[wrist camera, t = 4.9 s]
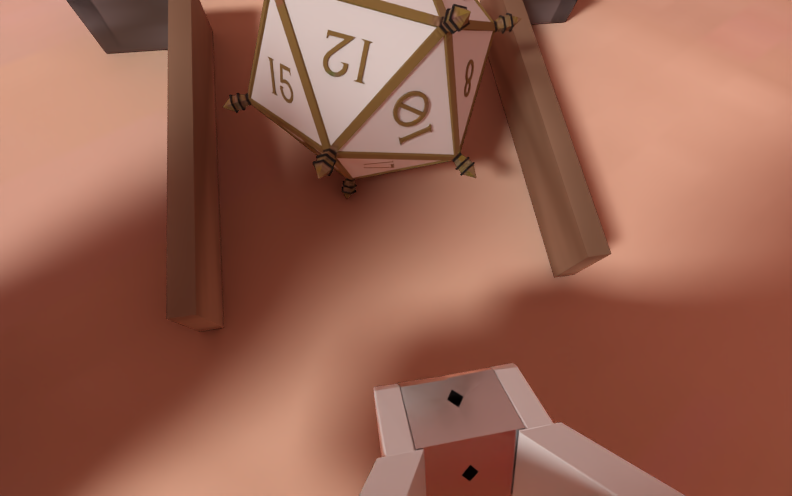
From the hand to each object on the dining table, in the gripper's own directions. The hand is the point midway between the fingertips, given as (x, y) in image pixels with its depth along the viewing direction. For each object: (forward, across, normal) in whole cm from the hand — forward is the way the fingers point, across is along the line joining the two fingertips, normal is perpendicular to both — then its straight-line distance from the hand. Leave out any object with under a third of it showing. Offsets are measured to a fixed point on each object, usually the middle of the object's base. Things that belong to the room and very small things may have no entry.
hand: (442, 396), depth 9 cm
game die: (+11, 0, -3) cm, 12 cm away
